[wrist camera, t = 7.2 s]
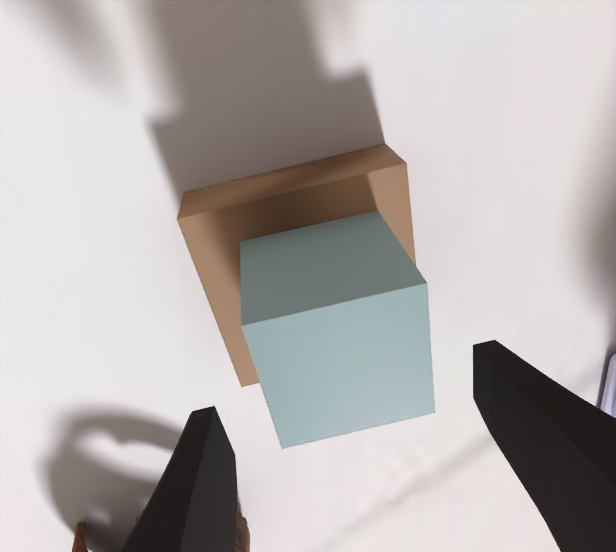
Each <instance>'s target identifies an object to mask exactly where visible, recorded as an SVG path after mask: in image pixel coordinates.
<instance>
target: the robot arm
mask: <svg viewBox="0 0 616 552" xmlns="http://www.w3.org/2000/svg"><path fill="white" fill-rule="evenodd" d="M473 398H474V400H475V403H476V405H477V407H478V409H479V411H480V413H481V416H482V418H483V420H484V422H485V424H486V426H487V428H488V430H489V432H490V433H491V435H492V437H493V438H494V440H495V442H496V443H497V445H498V446H499V448H500V450H501V451H502V453H503V454H504V456H505V458H506V459H507V461H508V462H509V464H510V465H511V467H512V469H513V470H514V472H515V473H516V475H517V476H518V478H519V480H520V481H521V483H522V484H523V486H524V488H525V489H526V491H527V492H528V494H529V495H530V497H531V499H532V500H533V502H534V503H535V505H536V506H537V508H538V510H539V512H540V513H541V515H542V517H543V518H544V520H545V522H546V524H547V526H548V528H549V530H550V531H551V533H552V535H553V537H554V539H555V541H556V543H557V545H558V547H559V549H560V551H561V552H616V354H614V355H613V356H612V357H611V359H610V363H609V368H608V373H607V378H606V383H605V388H604V393H603V398H602V403H601V408H600V409H599V408H597V407H595V406H594V405H592V404H590V403H589V402H587V401H585V400H584V399H582V398H580V397H579V396H577V395H575V394H574V393H572V392H571V391H569V390H568V389H566V388H565V387H563V386H561V385H560V384H558V383H557V382H555V381H554V380H552V379H551V378H549V377H548V376H546V375H545V374H543V373H542V372H540V371H539V370H537V369H536V368H534V367H533V366H532V365H530V364H529V363H527V362H526V361H524V360H523V359H522V358H520V357H519V356H517V355H516V354H515V353H513V352H512V351H510V350H509V349H507V348H506V347H505V346H503V345H502V344H500V343H499V342H497V341H496V340H492V341H488V342H483V343H479V344H475V345H473ZM237 493H238V491H237V474H236V461H235V453H234V451H233V449H232V446H231V444H230V441H229V439H228V437H227V434H226V432H225V430H224V427H223V425H222V422H221V420H220V418H219V415H218V413H217V411H216V408H215V406H212V407H208V408H204V409H200V410H195V411H192V413H191V414H190V416H189V418H188V421H187V423H186V425H185V428H184V430H183V432H182V435H181V437H180V439H179V441H178V444H177V446H176V448H175V450H174V452H173V455H172V457H171V459H170V461H169V463H168V465H167V467H166V469H165V471H164V473H163V475H162V477H161V479H160V481H159V483H158V485H157V487H156V489H155V491H154V493H153V495H152V497H151V498H150V500H149V502H148V504H147V506H146V507H145V509H144V511H143V513H142V515H141V516H140V518H139V520H138V522H137V524H136V525H135V527H134V529H133V530H132V532H131V534H130V535H129V537H128V538H127V540H126V542H125V543H124V545H123V546H122V548H121V549H120V551H119V552H235V537H236V516H237Z"/></svg>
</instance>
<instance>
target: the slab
mask: <svg viewBox="0 0 616 552" xmlns="http://www.w3.org/2000/svg"><path fill="white" fill-rule="evenodd" d="M377 210H378V211H379V213H380V214H381V216H382V217H383V218H384V220H385V221H386V223H387V224H388V226H389V227H390V229H391V230H392V232H393V233H394V235H395V236H396V238H397V239H398V241H399V242H400V244H401V245H402V247H403V248H404V250H405V251H406V253H407V254H408V256H409V257H410V258H411V260H412V261H413V263H414V264H415V266H416V260H415V250H414V239H413V228H412V217H411V207H410V196H409V185H408V174H407V163H406V162H405V161H404V160H403V159H401V158H400V157H399V156H398V155H397V154H396V153H395V152H394V151H393V150H392V149H391V148H390V147H389V146H387V145H386V144H382V145H378V146H374V147H370V148H366V149H362V150H357V151H353V152H349V153H345V154H341V155H337V156H333V157H329V158H325V159H320V160H316V161H312V162H308V163H304V164H300V165H296V166H292V167H287V168H283V169H279V170H275V171H271V172H267V173H263V174H259V175H255V176H250V177H246V178H242V179H238V180H234V181H230V182H226V183H222V184H218V185H213V186H209V187H205V188H201V189H197V190H193V191H189V192H185V193H184V195H183V199H182V202H181V206H180V210H179V213H178V217H177V221H178V223H179V226H180V228H181V231H182V234H183V236H184V239H185V241H186V244H187V247H188V249H189V252H190V254H191V257H192V260H193V262H194V265H195V267H196V270H197V273H198V275H199V278H200V280H201V283H202V286H203V288H204V291H205V293H206V296H207V299H208V301H209V304H210V306H211V309H212V312H213V314H214V317H215V319H216V322H217V325H218V327H219V330H220V332H221V335H222V338H223V340H224V343H225V345H226V348H227V351H228V353H229V356H230V358H231V361H232V364H233V366H234V369H235V371H236V374H237V376H238V379H239V382H240V384H241V387H244V386H248V385H252V384H256V383H260V382H259V379H258V376H257V373H256V370H255V367H254V364H253V361H252V357H251V354H250V351H249V348H248V345H247V342H246V339H245V336H244V333H243V330H242V327H241V273H240V242H241V241H245V240H250V239H254V238H258V237H263V236H267V235H272V234H276V233H280V232H285V231H289V230H293V229H298V228H302V227H307V226H311V225H315V224H320V223H324V222H328V221H333V220H337V219H342V218H346V217H350V216H355V215H359V214H363V213H368V212H372V211H377Z"/></svg>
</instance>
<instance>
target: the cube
mask: <svg viewBox="0 0 616 552" xmlns="http://www.w3.org/2000/svg"><path fill="white" fill-rule="evenodd" d="M240 273H241V327H242V330H243V333H244V336H245V339H246V342H247V345H248V348H249V351H250V354H251V357H252V361H253V364H254V367H255V370H256V373H257V376H258V379H259V382H260V385H261V388H262V391H263V394H264V397H265V400H266V403H267V406H268V409H269V412H270V415H271V418H272V421H273V424H274V427H275V430H276V433H277V436H278V439H279V442H280V445H281V448H282V449H284V448H288V447H292V446H296V445H301V444H305V443H309V442H313V441H318V440H322V439H326V438H330V437H335V436H339V435H343V434H347V433H352V432H356V431H360V430H364V429H368V428H373V427H377V426H381V425H385V424H390V423H394V422H398V421H402V420H407V419H411V418H415V417H419V416H424V415H428V414H432V413H435V404H434V388H433V372H432V355H431V339H430V323H429V306H428V290H427V282H426V281H425V279H424V278H423V276H422V275H421V273H420V272H419V270H418V269H417V267H416V266H415V264H414V263H413V261H412V260H411V258H410V257H409V256H408V254H407V253H406V251H405V250H404V248H403V247H402V245H401V244H400V242H399V241H398V239H397V238H396V236H395V235H394V233H393V232H392V230H391V229H390V227H389V226H388V224H387V223H386V221H385V220H384V218H383V217H382V216H381V214H380V213H379V211H378V210H377V211H372V212H368V213H363V214H359V215H355V216H350V217H346V218H342V219H337V220H333V221H328V222H324V223H320V224H315V225H311V226H307V227H302V228H298V229H293V230H289V231H285V232H280V233H276V234H272V235H267V236H263V237H258V238H254V239H250V240H245V241H241V242H240Z"/></svg>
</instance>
